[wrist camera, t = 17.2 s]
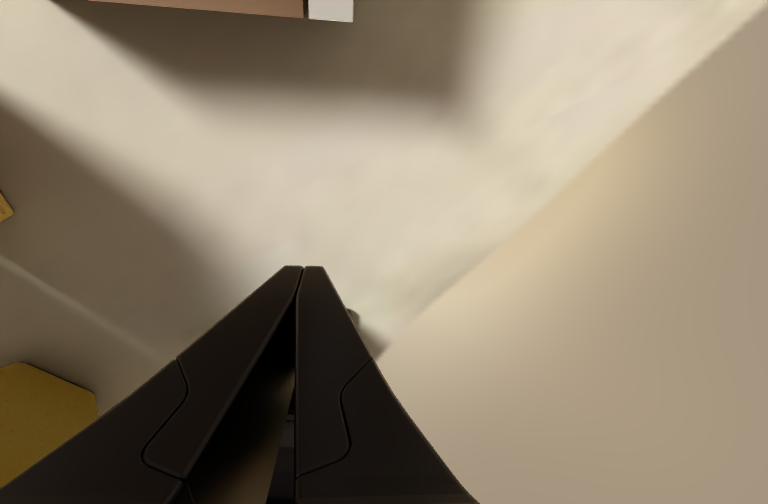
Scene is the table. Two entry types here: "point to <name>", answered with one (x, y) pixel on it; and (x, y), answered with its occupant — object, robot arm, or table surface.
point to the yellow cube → (37, 416)
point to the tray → (331, 10)
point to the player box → (233, 6)
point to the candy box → (4, 209)
